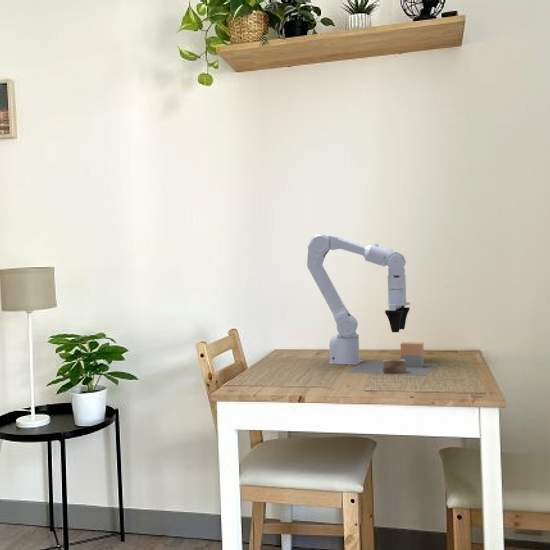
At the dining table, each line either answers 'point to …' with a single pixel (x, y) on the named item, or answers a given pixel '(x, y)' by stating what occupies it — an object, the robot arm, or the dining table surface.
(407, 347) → the brick terracotta
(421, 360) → the brick slate
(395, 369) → the brick walnut
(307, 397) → the dining table surface
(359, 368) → the felt mat
